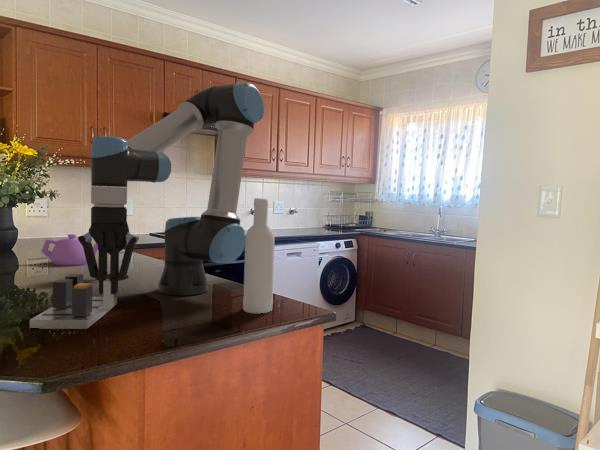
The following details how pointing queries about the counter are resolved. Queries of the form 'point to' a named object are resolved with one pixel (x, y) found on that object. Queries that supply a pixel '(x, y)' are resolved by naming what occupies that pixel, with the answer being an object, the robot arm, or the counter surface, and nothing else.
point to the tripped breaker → (82, 299)
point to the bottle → (259, 262)
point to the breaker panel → (68, 308)
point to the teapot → (66, 251)
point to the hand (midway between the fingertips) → (108, 307)
